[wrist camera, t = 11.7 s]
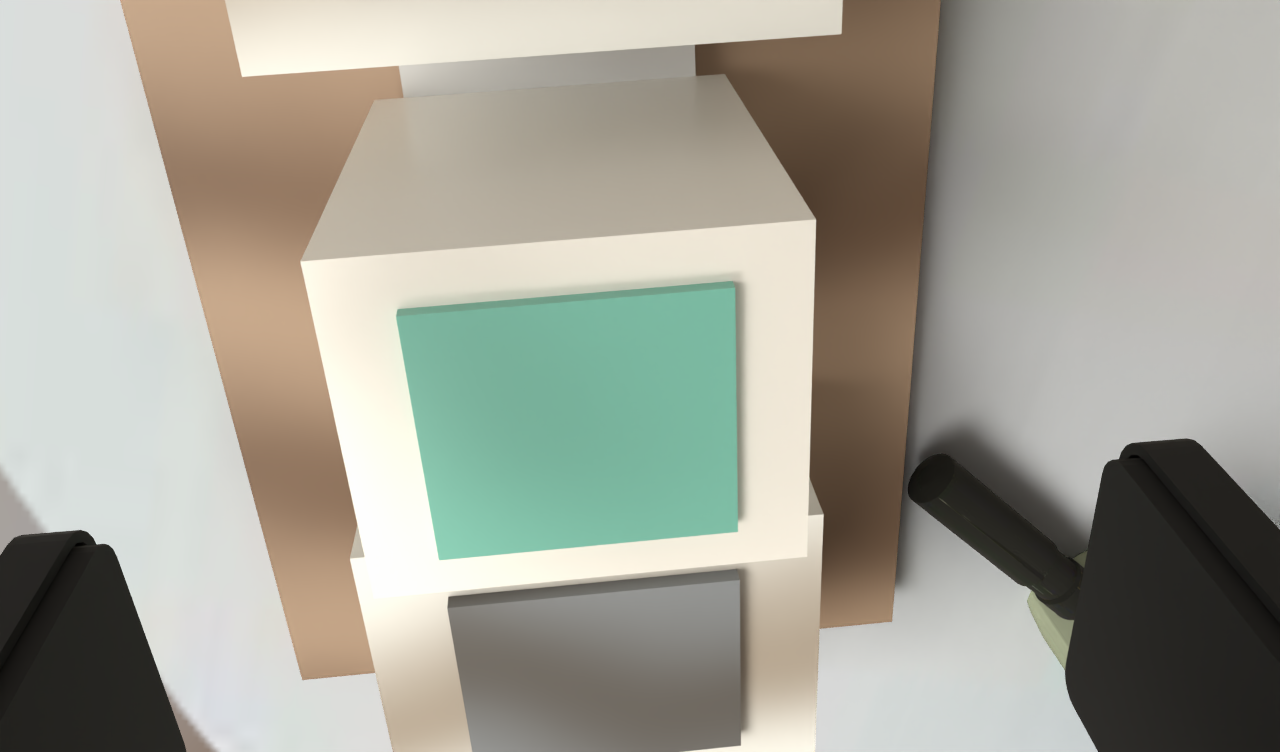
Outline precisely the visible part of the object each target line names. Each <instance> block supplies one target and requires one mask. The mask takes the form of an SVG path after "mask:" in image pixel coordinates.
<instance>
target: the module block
mask: <svg viewBox="0 0 1280 752" xmlns="http://www.w3.org/2000/svg"><path fill="white" fill-rule="evenodd" d="M815 243H816V218H815V217H814V215H813V214H812V212H811V210H810V209H809V207H808V206H807V204H806V203H805V201H804V199H803V198H802V196H801V195H800V193H799V191H798V190H797V188H796V187H795V185H794V183H793V182H792V180H791V179H790V177H789V175H788V174H787V172H786V171H785V169H784V168H783V166H782V164H781V163H780V161H779V160H778V158H777V156H776V155H775V153H774V152H773V150H772V148H771V147H770V145H769V144H768V142H767V140H766V139H765V137H764V136H763V134H762V132H761V131H760V129H759V128H758V126H757V125H756V123H755V121H754V120H753V118H752V117H751V115H750V113H749V112H748V110H747V109H746V107H745V105H744V104H743V102H742V101H741V99H740V97H739V96H738V94H737V93H736V91H735V89H734V88H733V86H732V85H731V83H730V82H729V80H728V78H727V77H726V75H725V74H717V75H704V76H691V77H677V78H664V79H650V80H637V81H623V82H610V83H597V84H583V85H570V86H556V87H543V88H529V89H516V90H503V91H489V92H476V93H462V94H449V95H435V96H422V97H409V98H395V99H382V100H374V102H373V104H372V106H371V109H370V111H369V113H368V115H367V117H366V120H365V122H364V124H363V126H362V128H361V130H360V133H359V135H358V137H357V139H356V141H355V144H354V146H353V148H352V150H351V152H350V154H349V157H348V159H347V161H346V163H345V165H344V167H343V170H342V172H341V174H340V176H339V178H338V181H337V183H336V185H335V187H334V189H333V191H332V194H331V196H330V198H329V200H328V202H327V205H326V207H325V209H324V211H323V213H322V215H321V218H320V220H319V222H318V224H317V226H316V228H315V231H314V233H313V235H312V237H311V239H310V242H309V244H308V246H307V248H306V250H305V252H304V255H303V257H302V259H301V261H300V262H301V267H302V271H303V276H304V281H305V285H306V290H307V294H308V299H309V304H310V308H311V313H312V317H313V322H314V327H315V331H316V336H317V340H318V345H319V350H320V354H321V359H322V363H323V368H324V373H325V377H326V382H327V386H328V391H329V395H330V400H331V405H332V409H333V414H334V418H335V423H336V428H337V432H338V437H339V441H340V446H341V451H342V455H343V460H344V464H345V469H346V474H347V478H348V483H349V487H350V492H351V497H352V501H353V506H354V510H355V515H356V520H357V524H358V529H359V533H360V538H361V543H362V547H363V552H364V556H365V561H366V566H367V570H368V575H369V579H370V584H371V589H372V593H373V598H374V599H378V598H388V597H398V596H408V595H419V594H429V593H439V592H450V591H460V590H470V589H481V588H491V587H501V586H511V585H522V584H532V583H542V582H553V581H563V580H573V579H583V578H594V577H604V576H614V575H625V574H635V573H645V572H656V571H666V570H676V569H686V568H697V567H707V566H717V565H728V564H738V563H748V562H759V561H769V560H779V559H789V558H800V557H807V542H808V505H809V467H810V430H811V393H812V355H813V318H814V280H815Z"/></svg>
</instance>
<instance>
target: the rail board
mask: <svg viewBox="0 0 1280 752" xmlns="http://www.w3.org/2000/svg"><path fill="white" fill-rule="evenodd" d="M120 1H121V5H122V9H123V12H124V16H125V20H126V23H127V27H128V31H129V35H130V38H131V42H132V46H133V50H134V53H135V57H136V61H137V65H138V68H139V72H140V76H141V79H142V83H143V87H144V91H145V94H146V98H147V102H148V106H149V109H150V113H151V117H152V121H153V124H154V128H155V132H156V135H157V139H158V143H159V147H160V150H161V154H162V158H163V162H164V165H165V169H166V173H167V177H168V180H169V184H170V188H171V191H172V195H173V199H174V203H175V206H176V210H177V214H178V218H179V221H180V225H181V229H182V233H183V236H184V240H185V244H186V247H187V251H188V255H189V259H190V262H191V266H192V270H193V274H194V277H195V281H196V285H197V289H198V292H199V296H200V300H201V303H202V307H203V311H204V315H205V318H206V322H207V326H208V330H209V333H210V337H211V341H212V345H213V348H214V352H215V356H216V359H217V363H218V367H219V371H220V374H221V378H222V382H223V386H224V389H225V393H226V397H227V400H228V404H229V408H230V412H231V415H232V419H233V423H234V427H235V430H236V434H237V438H238V442H239V445H240V449H241V453H242V456H243V460H244V464H245V468H246V471H247V475H248V479H249V483H250V486H251V490H252V494H253V498H254V501H255V505H256V509H257V512H258V516H259V520H260V524H261V527H262V531H263V535H264V539H265V542H266V546H267V550H268V554H269V557H270V561H271V565H272V568H273V572H274V576H275V580H276V583H277V587H278V591H279V595H280V598H281V602H282V606H283V610H284V613H285V617H286V621H287V624H288V628H289V632H290V636H291V639H292V643H293V647H294V651H295V654H296V658H297V662H298V666H299V669H300V673H301V677H302V680H307V679H317V678H327V677H337V676H347V675H358V674H368V673H376V678H377V682H378V687H379V691H380V696H381V700H382V705H383V709H384V714H385V718H386V723H387V727H388V732H389V736H390V740H391V745H392V749H393V752H815V734H816V707H817V680H818V653H819V629H821V628H832V627H842V626H852V625H862V624H872V623H882V622H892V614H893V602H894V589H895V576H896V564H897V551H898V538H899V525H900V513H901V500H902V487H903V474H904V462H905V449H906V436H907V423H908V411H909V398H910V385H911V373H912V360H913V347H914V334H915V322H916V309H917V296H918V283H919V271H920V258H921V245H922V232H923V220H924V207H925V194H926V182H927V169H928V156H929V143H930V131H931V118H932V105H933V92H934V80H935V67H936V54H937V41H938V29H939V16H940V3H941V0H120ZM717 74H725V75H726V77H727V78H728V80H729V82H730V83H731V85H732V86H733V88H734V89H735V91H736V93H737V94H738V96H739V97H740V99H741V101H742V102H743V104H744V105H745V107H746V109H747V110H748V112H749V113H750V115H751V117H752V118H753V120H754V121H755V123H756V125H757V126H758V128H759V129H760V131H761V132H762V134H763V136H764V137H765V139H766V140H767V142H768V144H769V145H770V147H771V148H772V150H773V152H774V153H775V155H776V156H777V158H778V160H779V161H780V163H781V164H782V166H783V168H784V169H785V171H786V172H787V174H788V175H789V177H790V179H791V180H792V182H793V183H794V185H795V187H796V188H797V190H798V191H799V193H800V195H801V196H802V198H803V199H804V201H805V203H806V204H807V206H808V207H809V209H810V210H811V212H812V214H813V215H814V217H815V218H816V243H815V280H814V318H813V355H812V393H811V430H810V467H809V505H808V542H807V557H800V558H789V559H779V560H769V561H759V562H748V563H738V564H728V565H717V566H707V567H697V568H686V569H676V570H666V571H656V572H645V573H635V574H625V575H614V576H604V577H594V578H583V579H573V580H563V581H553V582H542V583H532V584H522V585H511V586H501V587H491V588H481V589H470V590H460V591H450V592H439V593H429V594H419V595H408V596H398V597H388V598H378V599H374V598H373V593H372V589H371V584H370V579H369V575H368V570H367V566H366V561H365V556H364V552H363V547H362V543H361V538H360V533H359V529H358V524H357V520H356V515H355V510H354V506H353V501H352V497H351V492H350V487H349V483H348V478H347V474H346V469H345V464H344V460H343V455H342V451H341V446H340V441H339V437H338V432H337V428H336V423H335V418H334V414H333V409H332V405H331V400H330V395H329V391H328V386H327V382H326V377H325V373H324V368H323V363H322V359H321V354H320V350H319V345H318V340H317V336H316V331H315V327H314V322H313V317H312V313H311V308H310V304H309V299H308V294H307V290H306V285H305V281H304V276H303V271H302V267H301V262H300V261H301V259H302V257H303V255H304V252H305V250H306V248H307V246H308V244H309V242H310V239H311V237H312V235H313V233H314V231H315V228H316V226H317V224H318V222H319V220H320V218H321V215H322V213H323V211H324V209H325V207H326V205H327V202H328V200H329V198H330V196H331V194H332V191H333V189H334V187H335V185H336V183H337V181H338V178H339V176H340V174H341V172H342V170H343V167H344V165H345V163H346V161H347V159H348V157H349V154H350V152H351V150H352V148H353V146H354V144H355V141H356V139H357V137H358V135H359V133H360V130H361V128H362V126H363V124H364V122H365V120H366V117H367V115H368V113H369V111H370V109H371V106H372V104H373V102H374V100H382V99H395V98H409V97H422V96H435V95H449V94H462V93H476V92H489V91H503V90H516V89H529V88H543V87H556V86H570V85H583V84H597V83H610V82H623V81H637V80H650V79H664V78H677V77H691V76H704V75H717Z"/></svg>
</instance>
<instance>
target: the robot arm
mask: <svg viewBox="0 0 1280 752" xmlns="http://www.w3.org/2000/svg"><path fill="white" fill-rule="evenodd" d="M1065 679H1066V685H1067V690H1068V694H1069V697H1070V700H1071V702H1072V704H1073V706H1074V708H1075V710H1076V712H1077V714H1078V716H1079V717H1080V719H1081V721H1082V723H1083V725H1084V727H1085V728H1086V730H1087V732H1088V734H1089V736H1090V738H1091V739H1092V741H1093V743H1094V745H1095V747H1096V749H1097V750H1098V752H1280V530H1279V529H1278V527H1277V526H1276V525H1275V524H1274V523H1273V522H1272V521H1271V520H1270V519H1269V518H1268V517H1267V516H1266V515H1265V513H1264V512H1263V511H1262V510H1261V509H1260V508H1259V507H1258V506H1257V505H1256V504H1255V503H1254V502H1253V501H1252V500H1251V498H1250V497H1249V496H1248V495H1247V494H1246V493H1245V492H1244V491H1243V490H1242V489H1241V488H1240V487H1239V486H1238V484H1237V483H1236V482H1235V481H1234V480H1233V479H1232V478H1231V477H1230V476H1229V475H1228V474H1227V473H1226V472H1225V470H1224V469H1223V468H1222V467H1221V466H1220V465H1219V464H1218V463H1217V462H1216V461H1215V460H1214V459H1213V458H1212V457H1211V455H1210V454H1209V453H1208V452H1207V451H1206V450H1205V449H1204V448H1203V447H1202V446H1201V445H1200V444H1199V443H1197V442H1196V441H1195V440H1191V439H1175V440H1163V441H1151V442H1139V443H1131V444H1129V445H1127V446H1126V447H1125V448H1124V449H1123V451H1122V452H1121V455H1120V458H1119V459H1117V460H1111V461H1109V462H1108V463H1107V464H1106V465H1105V467H1104V470H1103V473H1102V478H1101V483H1100V488H1099V493H1098V499H1097V504H1096V509H1095V514H1094V519H1093V525H1092V530H1091V535H1090V540H1089V545H1088V550H1087V556H1086V561H1085V566H1084V571H1083V576H1082V582H1081V587H1080V592H1079V597H1078V602H1077V608H1076V613H1075V618H1074V623H1073V628H1072V634H1071V639H1070V644H1069V649H1068V654H1067V660H1066V666H1065ZM0 752H186V749H185V745H184V741H183V739H182V736H181V733H180V730H179V728H178V725H177V722H176V719H175V716H174V713H173V711H172V708H171V705H170V702H169V700H168V697H167V694H166V691H165V689H164V686H163V683H162V680H161V678H160V675H159V672H158V669H157V666H156V664H155V661H154V658H153V655H152V653H151V650H150V647H149V644H148V642H147V639H146V636H145V633H144V631H143V628H142V625H141V622H140V619H139V617H138V614H137V611H136V608H135V606H134V603H133V600H132V597H131V595H130V592H129V589H128V586H127V583H126V581H125V578H124V575H123V572H122V570H121V567H120V564H119V561H118V559H117V556H116V554H115V552H114V550H113V549H112V548H111V547H110V546H109V545H106V544H98V545H96V543H95V541H94V539H93V537H92V536H91V535H90V534H89V533H88V532H85V531H82V530H77V531H65V532H53V533H41V534H29V535H21V536H18V537H15V538H14V539H13V540H12V541H11V542H10V543H9V544H8V545H7V546H6V548H5V549H4V551H3V552H2V554H1V555H0Z"/></svg>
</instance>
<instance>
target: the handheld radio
mask: <svg viewBox="0 0 1280 752" xmlns="http://www.w3.org/2000/svg"><path fill="white" fill-rule="evenodd" d="M908 494H909V497H910V498H911V500H913V501H914V502H915V503H916V504H918V505H919V506H920V507H922V508H923V509H924V510H925V511H927V512H928V513H929V514H930V515H932V516H933V517H934V518H935V519H937V520H938V521H939V522H941V523H942V524H943V525H944V526H946V527H947V528H948V529H949V530H951V531H952V532H953V533H954V534H956V535H957V536H958V537H960V538H961V539H962V540H963V541H965V542H966V543H967V544H968V545H970V546H971V547H972V548H973V549H975V550H976V551H977V552H979V553H980V554H981V555H982V556H984V557H985V558H986V559H987V560H989V561H990V562H991V563H992V564H994V565H995V566H996V567H998V568H999V569H1000V570H1001V571H1003V572H1004V573H1005V574H1006V575H1008V576H1009V577H1010V578H1011V579H1013V580H1014V581H1015V582H1017V583H1018V584H1020V585H1022V586H1027V587H1028V588H1029V589H1030V590H1032V591H1031V593H1030V595H1029V598H1028V600H1027V602H1028V605H1029V608H1030V611H1031V613H1032V615H1033V617H1034V619H1035V621H1036V623H1037V626H1038V628H1039V630H1040V632H1041V634H1042V636H1043V638H1044V639H1045V641H1046V642H1047V644H1048V645H1049V647H1050V648H1051V650H1052V651H1053V653H1054V654H1055V656H1056V657H1057V659H1058V660H1059V662H1060V664H1061V665H1062V667H1063V668H1064V670H1065V666H1066V660H1067V654H1068V649H1069V644H1070V639H1071V634H1072V628H1073V623H1074V618H1075V613H1076V608H1077V602H1078V597H1079V592H1080V587H1081V582H1082V576H1083V571H1084V566H1085V561H1086V556H1087V551H1085V552H1083V553H1081V554H1079V555H1077V556H1076V557H1075V558H1073V559H1072V558H1069V557H1065V556H1064V555H1063V554H1062V553H1061V552H1059V551H1058V550H1057V547H1056V545H1055V544H1054V543H1053V542H1052V541H1051V540H1050V539H1049V538H1047V537H1046V536H1045V535H1044V534H1043V533H1041V532H1040V531H1039V530H1038V529H1036V528H1035V527H1034V526H1033V525H1032V524H1030V523H1029V522H1028V521H1027V520H1026V519H1024V518H1023V517H1022V516H1021V515H1020V514H1018V513H1017V512H1016V511H1015V510H1014V509H1012V508H1011V507H1010V506H1009V505H1008V504H1006V503H1005V502H1004V501H1003V500H1002V499H1000V498H999V497H998V496H997V495H996V494H994V493H993V492H992V491H991V490H990V489H988V488H987V487H986V486H985V485H984V484H982V483H981V482H980V481H979V480H978V479H976V478H975V477H974V476H973V475H971V474H970V473H969V472H968V471H967V470H965V469H964V468H963V467H962V466H961V465H959V464H958V463H957V462H956V461H955V460H953V459H952V458H951V457H950V456H948V455H946V454H936V455H933V456H931V457H929V458H927V459H926V460H924V461H923V462H922V463H921V464H920V465H919V466H918V467H917V468H916V469H915V471H914V472H913V474H912V476H911V478H910V481H909V484H908Z"/></svg>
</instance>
